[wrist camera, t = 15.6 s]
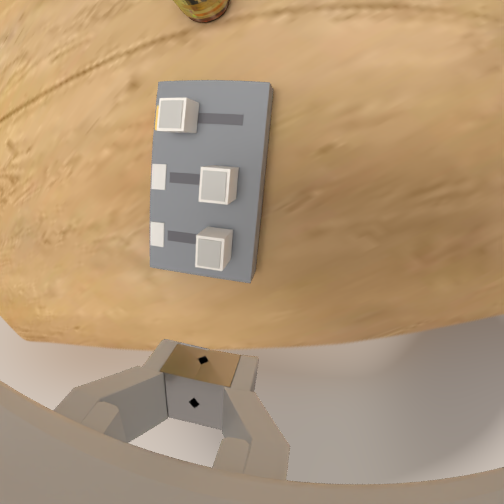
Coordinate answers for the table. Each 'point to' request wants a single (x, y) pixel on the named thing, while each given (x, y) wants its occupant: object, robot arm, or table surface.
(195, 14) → the sauce bottle
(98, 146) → the table surface
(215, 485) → the robot arm
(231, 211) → the console
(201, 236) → the knob
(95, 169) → the table surface
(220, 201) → the knob
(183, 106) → the knob
